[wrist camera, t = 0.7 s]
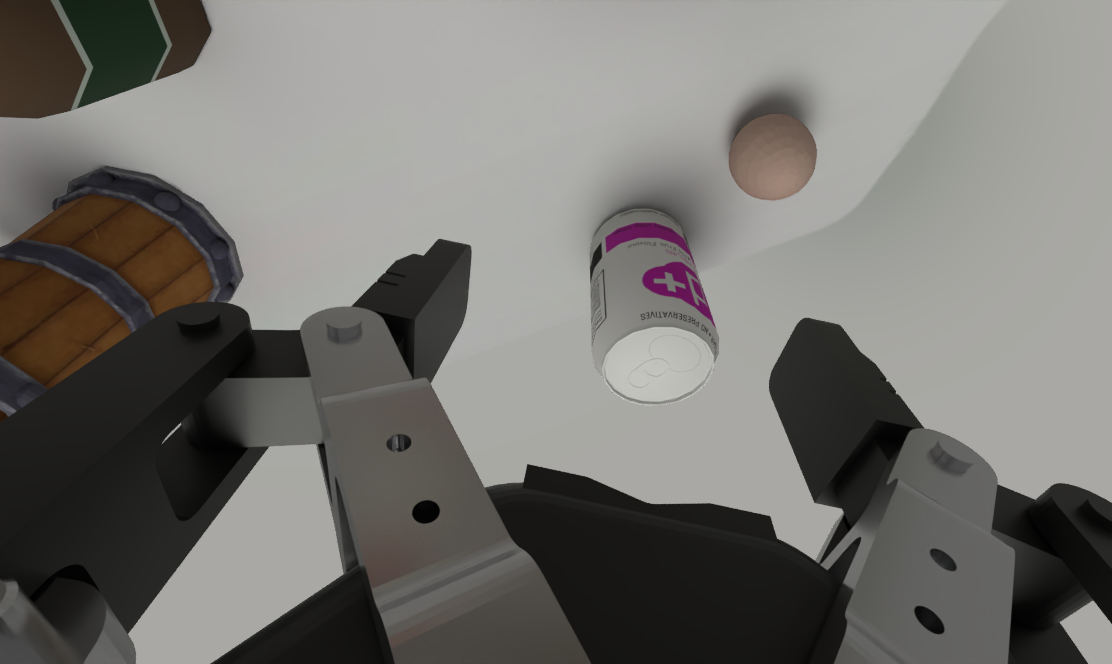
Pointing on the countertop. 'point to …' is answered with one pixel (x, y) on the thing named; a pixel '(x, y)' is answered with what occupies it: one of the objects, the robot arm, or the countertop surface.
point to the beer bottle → (91, 50)
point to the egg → (773, 157)
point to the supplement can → (649, 310)
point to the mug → (103, 275)
